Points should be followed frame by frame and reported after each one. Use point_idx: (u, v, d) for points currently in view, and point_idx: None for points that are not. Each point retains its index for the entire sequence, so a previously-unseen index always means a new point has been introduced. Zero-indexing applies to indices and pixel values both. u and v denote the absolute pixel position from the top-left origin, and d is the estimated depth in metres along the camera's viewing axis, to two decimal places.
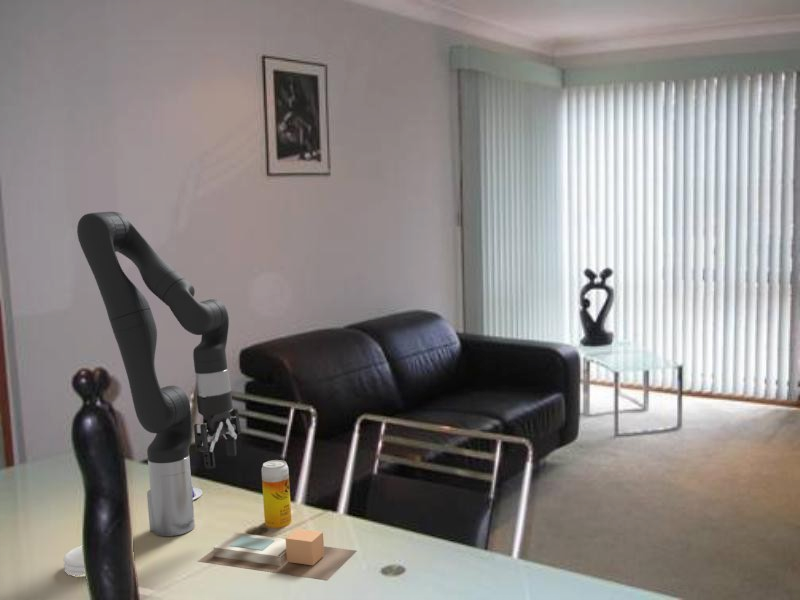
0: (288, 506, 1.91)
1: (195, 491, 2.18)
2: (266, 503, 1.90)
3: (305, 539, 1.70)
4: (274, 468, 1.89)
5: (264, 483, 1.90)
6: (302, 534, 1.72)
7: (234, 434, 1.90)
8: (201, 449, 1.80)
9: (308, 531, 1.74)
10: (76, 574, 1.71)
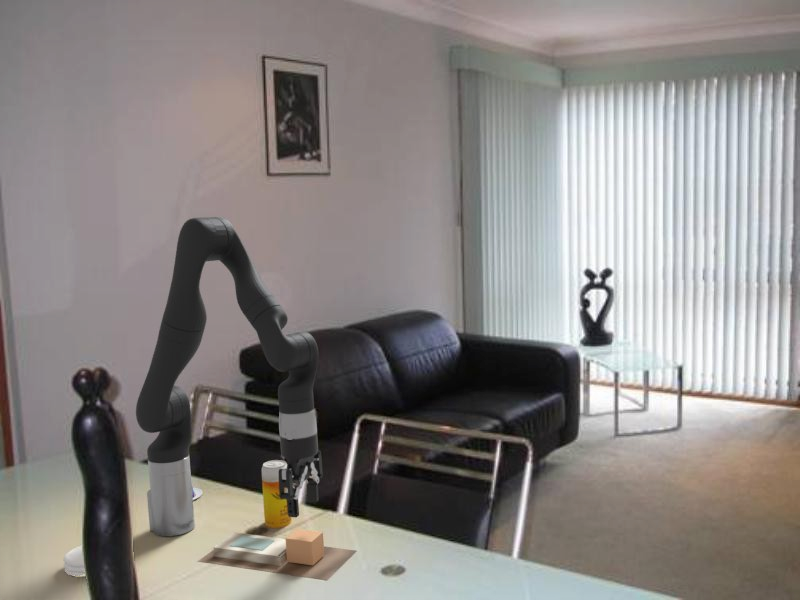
0: None
1: (195, 491, 2.18)
2: (266, 503, 1.90)
3: (305, 539, 1.70)
4: (274, 468, 1.89)
5: (264, 483, 1.90)
6: (302, 534, 1.72)
7: (317, 478, 1.74)
8: (286, 497, 1.64)
9: (308, 531, 1.74)
10: (76, 574, 1.71)
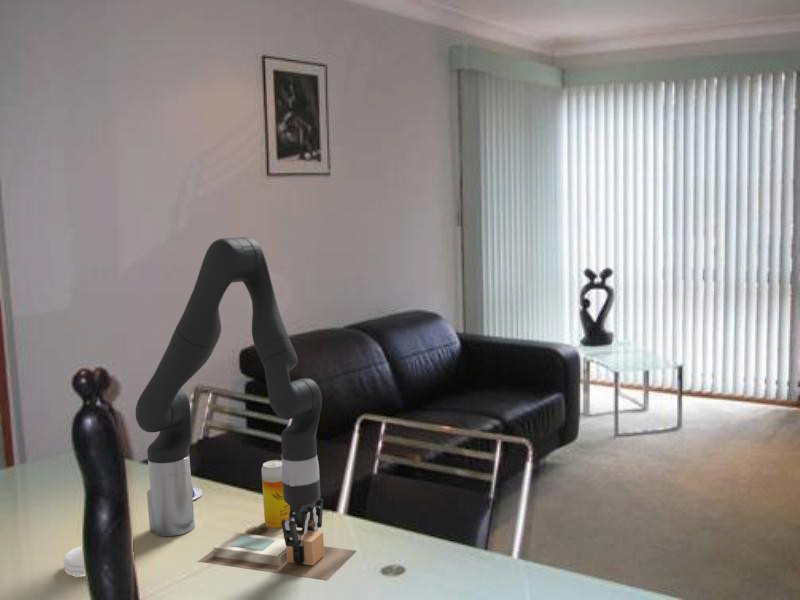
0: (288, 506, 1.91)
1: (196, 491, 2.18)
2: (266, 503, 1.90)
3: (305, 539, 1.70)
4: (274, 468, 1.89)
5: (264, 483, 1.90)
6: None
7: (316, 528, 1.74)
8: (292, 544, 1.67)
9: (308, 531, 1.74)
10: (76, 574, 1.71)
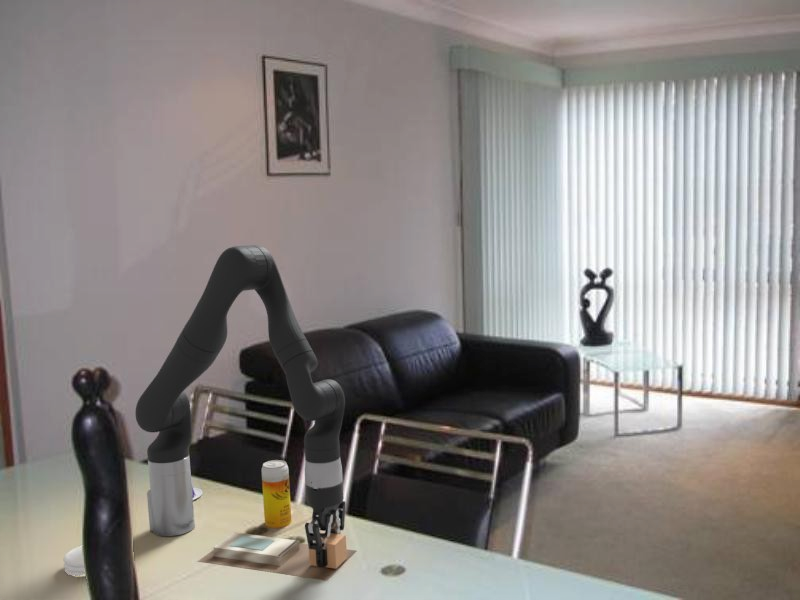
0: (288, 506, 1.91)
1: (196, 492, 2.18)
2: (266, 503, 1.90)
3: (328, 542, 1.68)
4: (274, 468, 1.89)
5: (264, 483, 1.90)
6: None
7: (339, 531, 1.72)
8: (315, 547, 1.65)
9: (330, 534, 1.72)
10: (76, 574, 1.71)
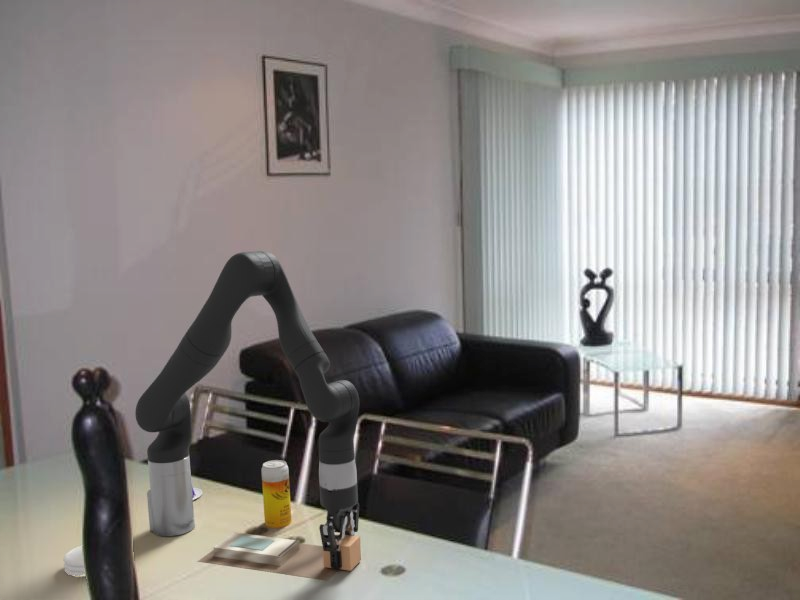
0: (288, 506, 1.91)
1: (196, 492, 2.18)
2: (266, 503, 1.90)
3: (342, 544, 1.67)
4: (274, 468, 1.89)
5: (264, 483, 1.90)
6: None
7: (353, 532, 1.71)
8: (330, 549, 1.64)
9: None
10: (76, 574, 1.71)
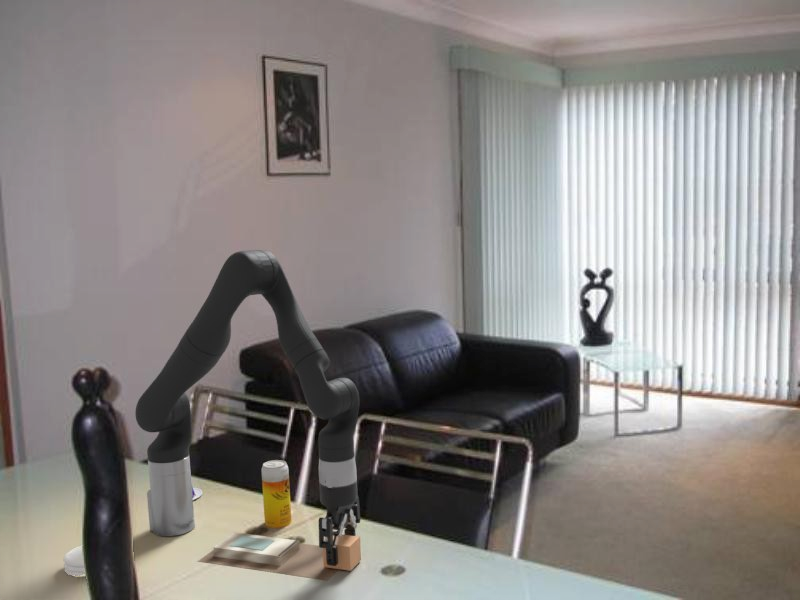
0: (288, 506, 1.91)
1: (197, 492, 2.18)
2: (266, 503, 1.90)
3: (342, 544, 1.67)
4: (274, 468, 1.89)
5: (264, 483, 1.90)
6: (339, 539, 1.69)
7: (355, 524, 1.72)
8: (326, 546, 1.62)
9: (344, 535, 1.71)
10: (76, 574, 1.71)
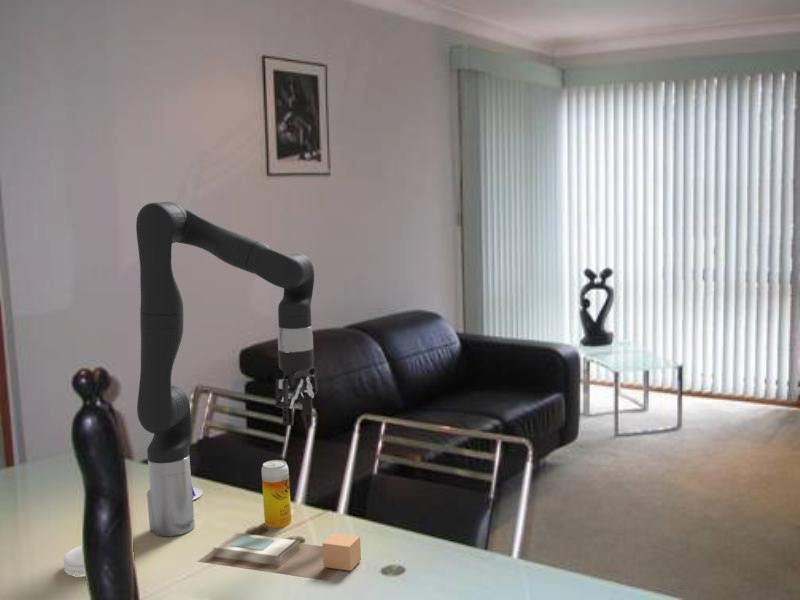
0: (288, 506, 1.91)
1: (197, 492, 2.17)
2: (266, 503, 1.90)
3: (342, 544, 1.67)
4: (274, 468, 1.89)
5: (264, 483, 1.90)
6: (339, 539, 1.69)
7: (312, 393, 1.86)
8: (281, 405, 1.76)
9: (344, 535, 1.71)
10: (76, 574, 1.71)
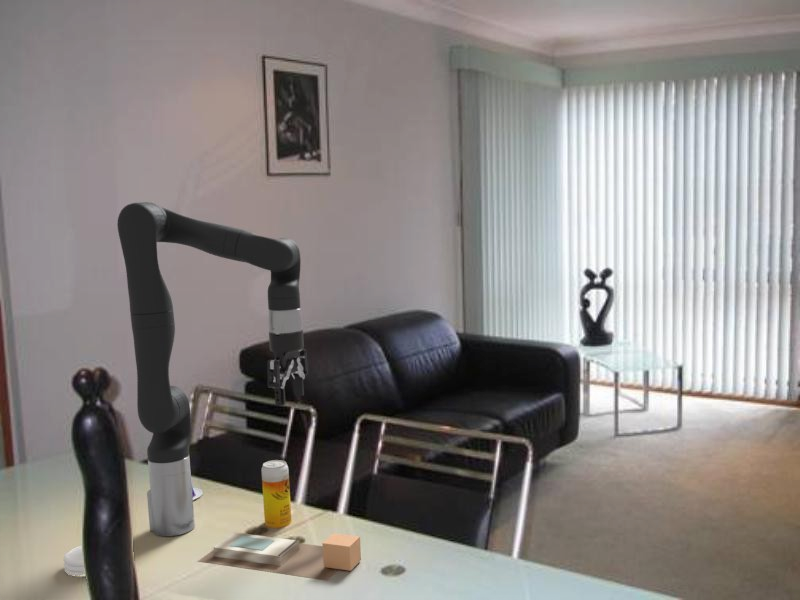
0: (288, 506, 1.91)
1: (197, 493, 2.17)
2: (266, 503, 1.90)
3: (342, 544, 1.67)
4: (274, 468, 1.89)
5: (264, 483, 1.90)
6: (339, 539, 1.69)
7: (302, 374, 1.91)
8: (273, 385, 1.80)
9: (344, 535, 1.71)
10: (76, 574, 1.71)
